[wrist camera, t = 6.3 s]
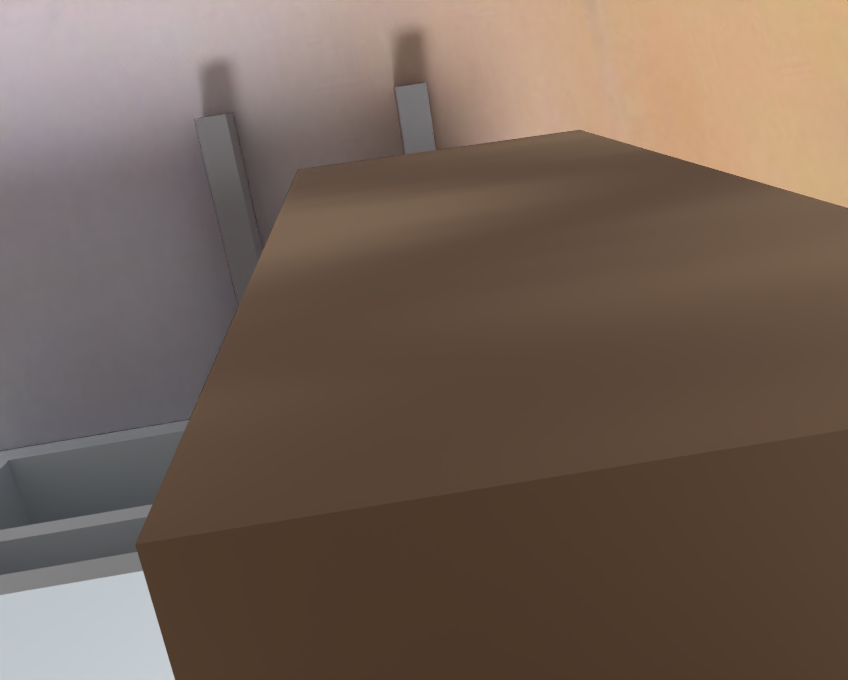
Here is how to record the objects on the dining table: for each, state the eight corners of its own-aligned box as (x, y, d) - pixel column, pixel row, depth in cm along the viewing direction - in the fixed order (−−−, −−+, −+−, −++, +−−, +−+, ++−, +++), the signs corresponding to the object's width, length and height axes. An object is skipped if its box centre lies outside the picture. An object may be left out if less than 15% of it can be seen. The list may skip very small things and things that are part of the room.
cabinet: (429, 81, 27) (464, 83, 18) (497, 572, 33) (551, 768, 24) (-110, 166, 27) (-372, 215, 17) (63, 647, 33) (-59, 877, 23)
